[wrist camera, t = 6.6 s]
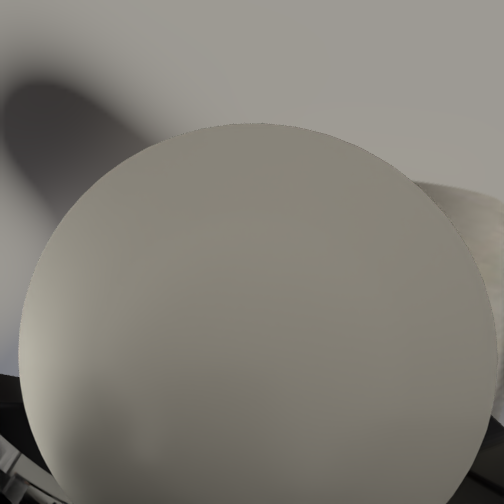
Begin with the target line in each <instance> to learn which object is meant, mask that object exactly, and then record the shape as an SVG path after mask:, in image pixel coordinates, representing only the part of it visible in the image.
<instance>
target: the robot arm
mask: <svg viewBox="0 0 504 504" xmlns="http://www.w3.org/2000/svg"><path fill="white" fill-rule="evenodd" d="M0 504H73V503H72V502H71V500H70V499H69V498H68V496H67V495H66V494H65V492H64V491H63V490H62V488H61V487H60V485H59V484H58V482H57V481H56V480H55V478H54V476H53V475H52V473H51V471H50V469H49V468H48V466H47V464H46V462H45V460H44V458H43V457H42V455H41V452H40V450H39V448H38V445H37V443H36V441H35V438H34V436H33V433H32V430H31V427H30V424H29V421H28V417H27V414H26V410H25V406H24V401H23V396H22V390H21V384H20V377H15V376H10V375H4V374H0ZM446 504H504V427H503V426H502V425H501V424H500V423H499V422H498V421H497V420H496V419H495V418H494V417H493V416H492V415H491V416H490V420H489V423H488V427H487V431H486V433H485V436H484V439H483V441H482V443H481V446H480V448H479V451H478V453H477V455H476V457H475V460H474V462H473V464H472V466H471V467H470V469H469V471H468V473H467V474H466V476H465V477H464V479H463V481H462V482H461V484H460V485H459V487H458V488H457V490H456V491H455V493H454V494H453V496H452V497H451V498H450V499H449V501H448V502H447V503H446Z"/></svg>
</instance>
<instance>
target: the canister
mask: <svg viewBox="0 0 504 504" xmlns="http://www.w3.org/2000/svg"><path fill="white" fill-rule="evenodd" d="M18 356H19V373H20V384H21V390H22V396H23V401H24V406H25V410H26V414H27V417H28V421H29V424H30V427H31V430H32V433H33V436H34V438H35V441H36V443H37V445H38V448H39V450H40V452H41V455H42V457H43V458H44V460H45V462H46V464H47V466H48V468H49V469H50V471H51V473H52V475H53V476H54V478H55V480H56V481H57V482H58V484H59V485H60V487H61V488H62V490H63V491H64V492H65V494H66V495H67V496H68V498H69V499H70V500H71V502H72V503H73V504H446V503H447V502H448V501H449V499H450V498H451V497H452V496H453V494H454V493H455V491H456V490H457V488H458V487H459V485H460V484H461V482H462V481H463V479H464V477H465V476H466V474H467V473H468V471H469V469H470V467H471V466H472V464H473V462H474V460H475V457H476V455H477V453H478V451H479V448H480V446H481V443H482V441H483V439H484V436H485V433H486V431H487V427H488V423H489V420H490V416H491V412H492V407H493V403H494V398H495V391H496V380H497V364H498V353H497V341H496V331H495V323H494V317H493V313H492V309H491V305H490V302H489V298H488V294H487V291H486V288H485V284H484V281H483V279H482V277H481V274H480V272H479V270H478V268H477V266H476V263H475V261H474V259H473V257H472V255H471V253H470V251H469V249H468V247H467V245H466V244H465V242H464V241H463V239H462V238H461V236H460V235H459V233H458V232H457V230H456V229H455V227H454V226H453V224H452V223H451V222H450V220H449V219H448V217H447V216H446V215H445V214H444V213H443V211H442V210H441V209H440V208H439V207H438V206H437V205H436V204H435V203H434V202H433V201H432V200H431V198H430V197H429V196H428V195H427V194H426V193H425V192H424V191H423V190H422V189H421V188H420V187H418V186H417V185H416V184H415V183H414V182H412V181H411V180H410V179H409V178H407V177H406V176H405V175H403V174H402V173H401V172H400V171H398V170H397V169H396V168H394V167H393V166H392V165H390V164H388V163H386V162H385V161H383V160H382V159H380V158H378V157H376V156H375V155H373V154H371V153H369V152H368V151H366V150H364V149H362V148H360V147H358V146H355V145H353V144H350V143H348V142H345V141H343V140H340V139H338V138H335V137H333V136H330V135H327V134H323V133H319V132H315V131H311V130H307V129H303V128H298V127H292V126H284V125H274V124H264V123H261V124H230V125H223V126H216V127H210V128H204V129H200V130H195V131H192V132H189V133H185V134H181V135H178V136H175V137H172V138H169V139H167V140H164V141H162V142H160V143H157V144H155V145H153V146H150V147H148V148H146V149H144V150H142V151H141V152H139V153H137V154H135V155H134V156H132V157H130V158H128V159H127V160H125V161H123V162H122V163H121V164H119V165H118V166H116V167H115V168H114V169H112V170H111V171H110V172H108V173H107V174H106V175H104V176H103V177H102V178H100V179H99V180H98V181H97V182H96V183H95V184H94V185H93V186H92V187H91V188H90V189H89V190H87V191H86V192H85V193H84V194H83V195H82V196H81V197H80V199H79V200H78V201H77V202H76V203H75V204H74V206H73V207H72V208H71V209H70V210H69V212H68V213H67V214H66V215H65V216H64V218H63V219H62V221H61V222H60V224H59V225H58V227H57V228H56V230H55V231H54V233H53V234H52V236H51V237H50V239H49V241H48V243H47V245H46V247H45V248H44V251H43V253H42V254H41V256H40V258H39V260H38V263H37V265H36V268H35V270H34V273H33V276H32V279H31V281H30V284H29V287H28V291H27V295H26V299H25V302H24V306H23V312H22V318H21V325H20V334H19V355H18Z"/></svg>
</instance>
